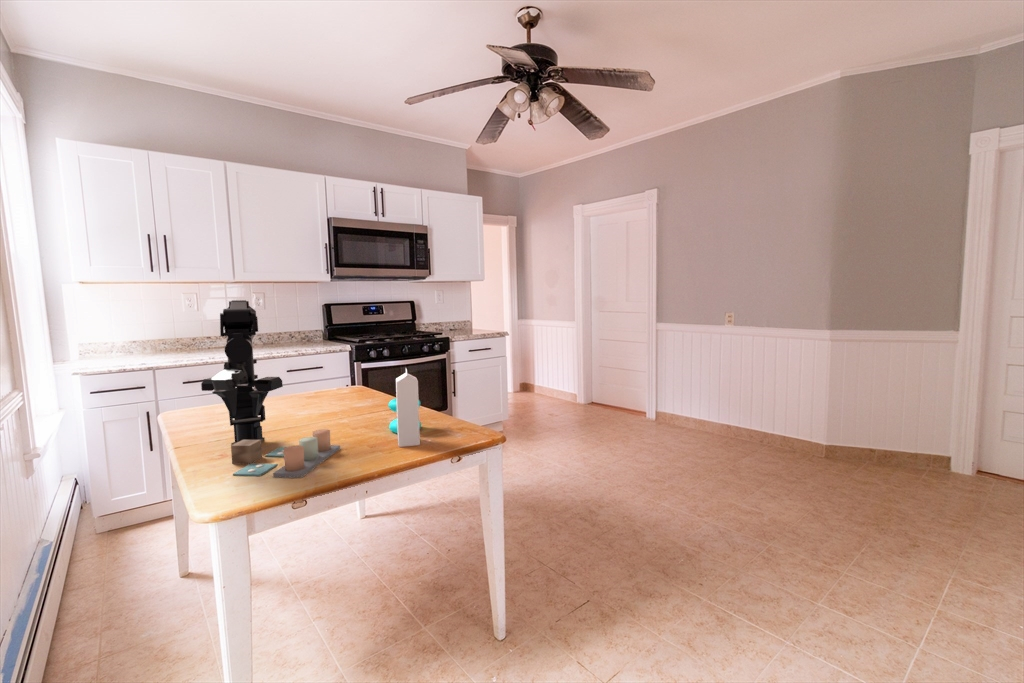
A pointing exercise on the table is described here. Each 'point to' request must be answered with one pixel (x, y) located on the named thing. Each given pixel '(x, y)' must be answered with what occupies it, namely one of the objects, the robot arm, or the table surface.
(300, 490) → the table surface
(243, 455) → the brown cube
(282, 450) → the pad three
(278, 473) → the board
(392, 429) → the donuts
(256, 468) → the pad two
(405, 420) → the milk
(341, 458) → the table surface
